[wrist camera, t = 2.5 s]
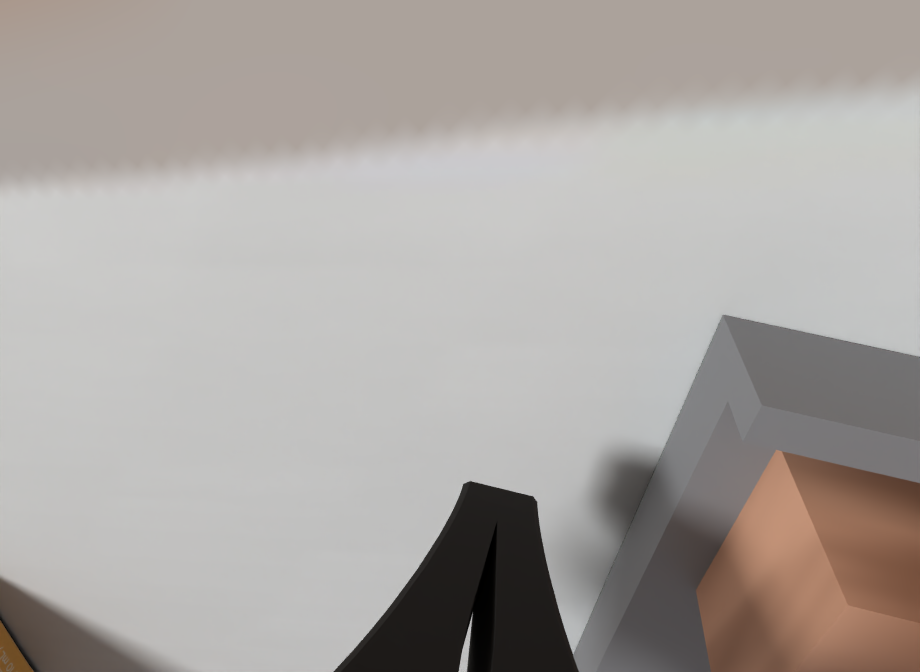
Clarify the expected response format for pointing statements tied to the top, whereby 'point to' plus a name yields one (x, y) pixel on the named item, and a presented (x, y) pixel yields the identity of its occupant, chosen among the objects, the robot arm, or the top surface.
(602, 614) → the grey divided tray
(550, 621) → the robot arm
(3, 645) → the small box
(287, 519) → the top surface
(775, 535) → the block
